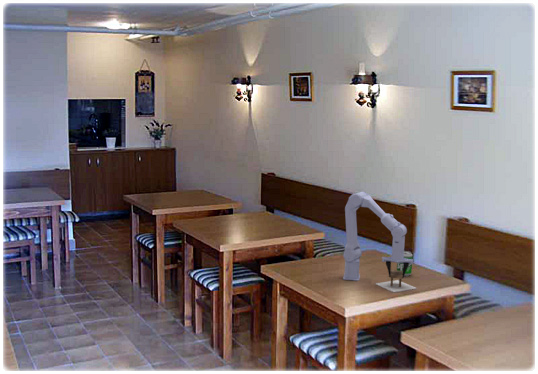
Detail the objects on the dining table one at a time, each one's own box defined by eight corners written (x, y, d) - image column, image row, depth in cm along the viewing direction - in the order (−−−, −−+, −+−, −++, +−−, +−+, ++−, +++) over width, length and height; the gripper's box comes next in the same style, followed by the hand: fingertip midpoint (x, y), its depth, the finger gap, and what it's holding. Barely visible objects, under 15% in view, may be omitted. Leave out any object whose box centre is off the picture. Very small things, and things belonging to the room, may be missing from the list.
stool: (389, 286, 312) (390, 274, 311) (390, 280, 320) (391, 269, 320) (401, 287, 311) (402, 276, 310) (401, 282, 319) (402, 271, 318)
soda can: (393, 273, 338) (394, 251, 336) (404, 272, 341) (406, 249, 340) (402, 277, 331) (404, 254, 330) (414, 276, 335) (415, 253, 333)
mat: (375, 284, 319) (375, 283, 318) (397, 281, 325) (397, 280, 325) (393, 292, 306) (393, 291, 306) (416, 288, 313) (416, 287, 313)
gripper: (382, 250, 311) (381, 278, 313) (413, 252, 308) (411, 280, 310) (382, 247, 317) (381, 274, 319) (413, 249, 315) (411, 276, 317)
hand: (396, 277), depth 315 cm, fingers closed on stool, 6 cm apart
